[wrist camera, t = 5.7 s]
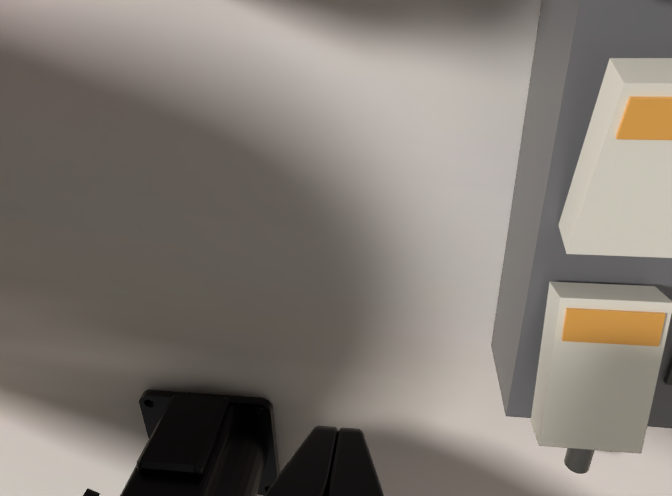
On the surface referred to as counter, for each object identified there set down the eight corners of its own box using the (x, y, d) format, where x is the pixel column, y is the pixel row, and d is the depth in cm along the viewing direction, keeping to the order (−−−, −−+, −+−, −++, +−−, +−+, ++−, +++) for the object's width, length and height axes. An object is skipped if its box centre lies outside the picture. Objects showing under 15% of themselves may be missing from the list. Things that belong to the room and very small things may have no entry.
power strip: (660, 443, 24) (704, 530, 21) (478, 430, 25) (490, 511, 22) (948, -323, 12) (1173, -437, 9) (585, -297, 13) (651, -390, 10)
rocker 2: (625, 428, 18) (642, 455, 16) (530, 421, 18) (539, 447, 17) (654, 286, 16) (675, 304, 15) (549, 281, 16) (561, 298, 15)
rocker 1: (668, 228, 15) (684, 261, 14) (558, 225, 16) (567, 256, 15) (753, 57, 12) (782, 86, 11) (609, 58, 12) (625, 85, 11)
